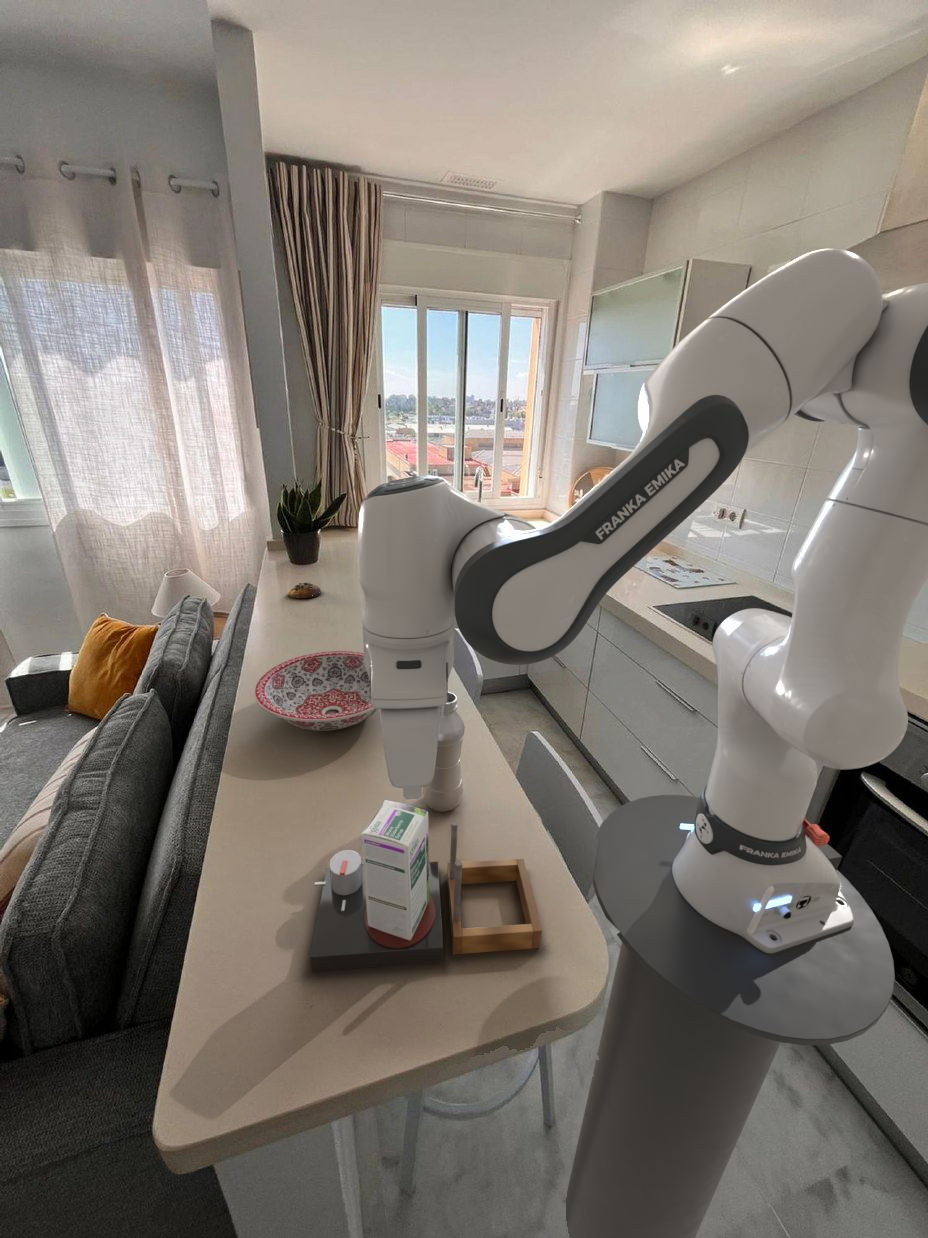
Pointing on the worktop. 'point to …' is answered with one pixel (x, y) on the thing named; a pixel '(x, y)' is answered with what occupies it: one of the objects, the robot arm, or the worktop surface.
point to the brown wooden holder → (497, 935)
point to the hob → (348, 940)
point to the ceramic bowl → (317, 690)
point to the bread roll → (304, 591)
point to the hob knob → (345, 872)
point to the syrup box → (396, 868)
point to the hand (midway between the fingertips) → (412, 763)
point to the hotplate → (399, 942)
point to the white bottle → (447, 760)
